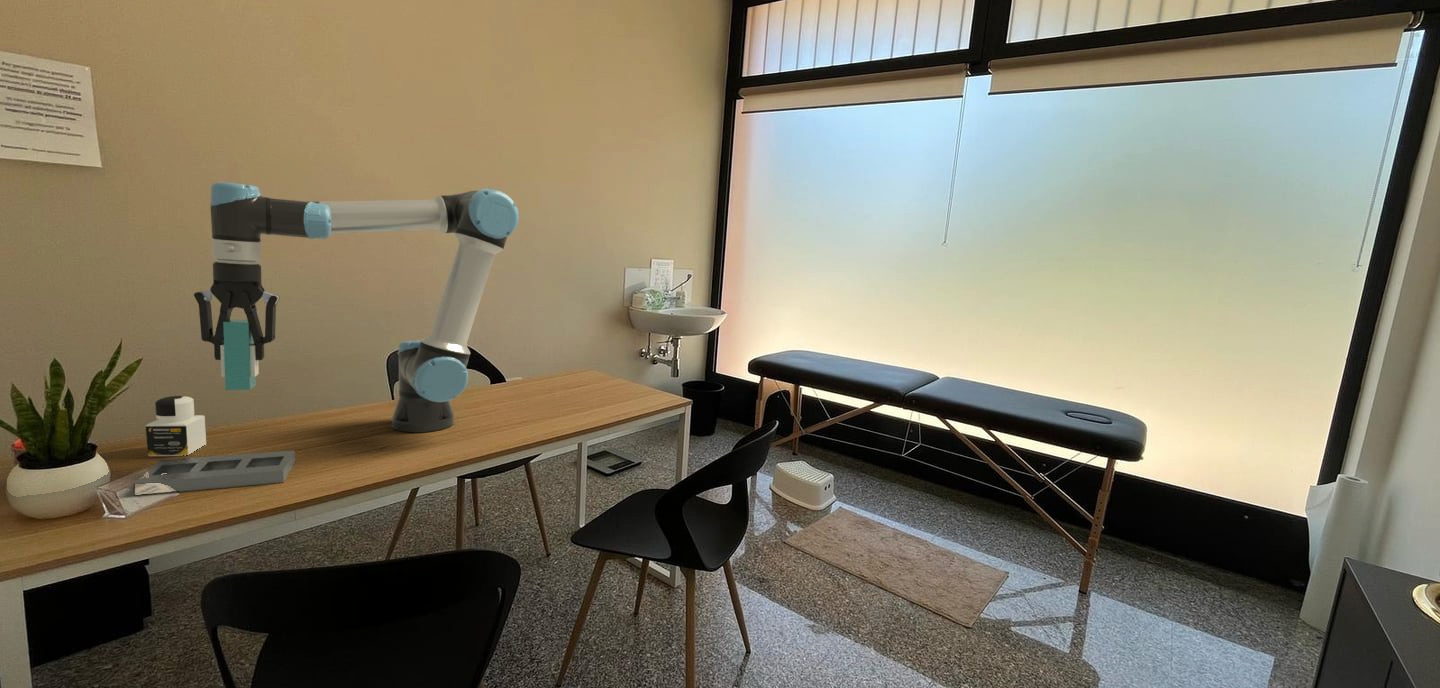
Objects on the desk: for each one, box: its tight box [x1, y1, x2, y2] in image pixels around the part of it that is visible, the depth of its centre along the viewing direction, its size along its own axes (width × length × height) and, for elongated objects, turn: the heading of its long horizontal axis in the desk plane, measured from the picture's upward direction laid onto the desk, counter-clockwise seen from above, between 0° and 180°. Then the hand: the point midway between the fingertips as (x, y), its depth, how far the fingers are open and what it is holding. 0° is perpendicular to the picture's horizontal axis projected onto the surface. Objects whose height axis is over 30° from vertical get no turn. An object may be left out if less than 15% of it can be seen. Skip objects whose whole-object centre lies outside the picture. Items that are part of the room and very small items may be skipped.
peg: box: [223, 318, 257, 391], centre depth 119 cm, size 4×4×14 cm
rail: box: [133, 450, 296, 493], centre depth 115 cm, size 22×12×2 cm, turn 117°
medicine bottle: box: [145, 395, 207, 457], centre depth 126 cm, size 7×7×12 cm
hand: (240, 375), depth 120 cm, fingers closed on peg, 4 cm apart
